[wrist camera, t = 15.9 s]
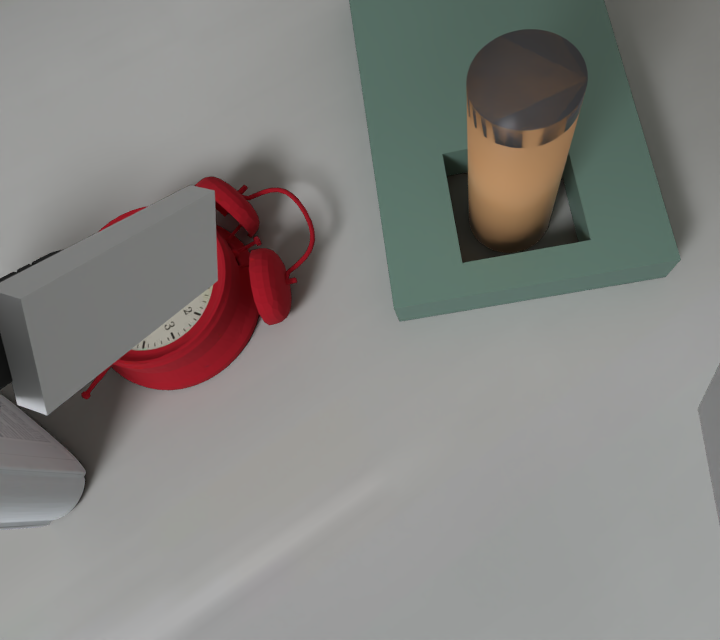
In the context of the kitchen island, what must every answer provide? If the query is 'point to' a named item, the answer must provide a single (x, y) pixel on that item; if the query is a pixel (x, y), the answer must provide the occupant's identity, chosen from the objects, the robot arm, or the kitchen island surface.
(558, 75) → the plug
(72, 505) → the photo printer
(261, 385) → the kitchen island surface
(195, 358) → the alarm clock
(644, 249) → the socket board
